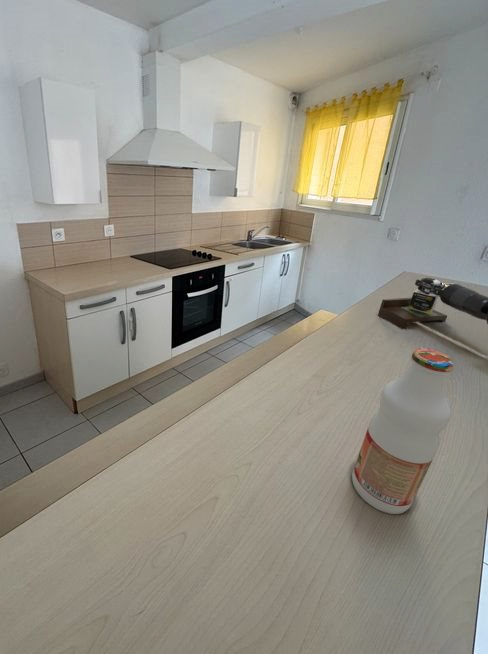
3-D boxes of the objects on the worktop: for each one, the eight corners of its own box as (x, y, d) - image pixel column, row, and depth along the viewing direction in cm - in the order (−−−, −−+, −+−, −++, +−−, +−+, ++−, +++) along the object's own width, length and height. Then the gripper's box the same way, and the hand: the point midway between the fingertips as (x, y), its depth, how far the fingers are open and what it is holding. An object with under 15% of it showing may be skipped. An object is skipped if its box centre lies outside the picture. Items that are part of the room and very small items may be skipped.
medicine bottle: (407, 308, 124) (417, 278, 120) (412, 303, 129) (422, 275, 124) (429, 314, 120) (441, 283, 115) (433, 309, 124) (444, 280, 120)
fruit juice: (369, 517, 53) (427, 375, 42) (341, 467, 61) (382, 339, 50) (423, 515, 53) (494, 375, 42) (388, 467, 62) (439, 340, 51)
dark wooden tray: (416, 312, 135) (421, 296, 132) (443, 325, 124) (450, 308, 121) (377, 315, 130) (382, 299, 127) (402, 329, 119) (408, 312, 116)
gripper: (486, 288, 106) (445, 273, 122) (445, 287, 105) (409, 272, 121) (477, 309, 109) (439, 292, 125) (437, 308, 108) (403, 291, 124)
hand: (424, 282), depth 123 cm, fingers closed on medicine bottle, 6 cm apart
